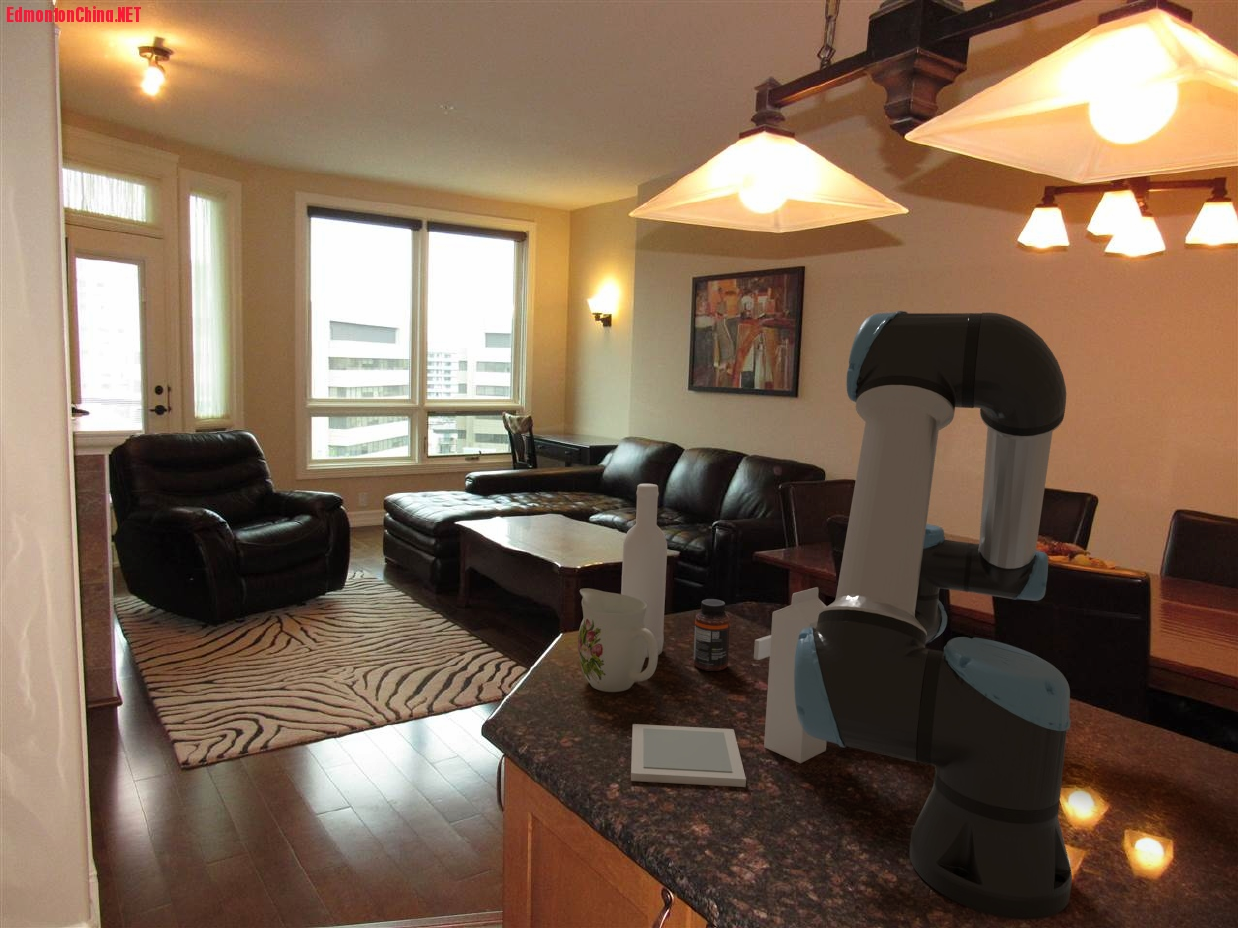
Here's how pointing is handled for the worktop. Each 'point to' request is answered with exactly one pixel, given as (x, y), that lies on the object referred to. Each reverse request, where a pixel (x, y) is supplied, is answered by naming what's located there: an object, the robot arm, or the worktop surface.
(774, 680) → the milk
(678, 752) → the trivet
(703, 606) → the supplement bottle
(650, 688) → the worktop surface
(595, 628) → the pitcher
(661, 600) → the bottle
